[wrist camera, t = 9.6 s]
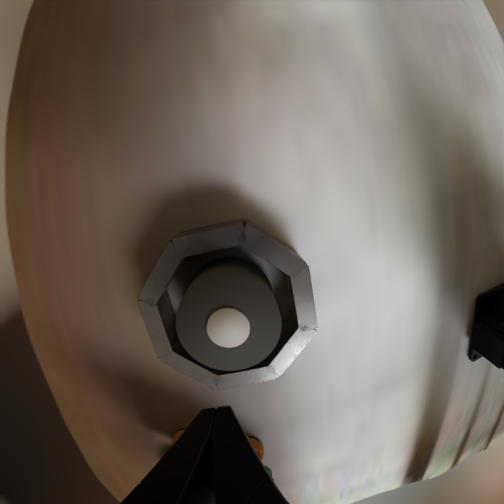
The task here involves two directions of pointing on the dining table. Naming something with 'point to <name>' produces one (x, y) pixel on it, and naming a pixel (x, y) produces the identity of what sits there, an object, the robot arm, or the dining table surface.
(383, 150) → the dining table surface
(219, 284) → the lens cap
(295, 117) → the dining table surface
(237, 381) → the barrel ring
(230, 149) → the dining table surface
